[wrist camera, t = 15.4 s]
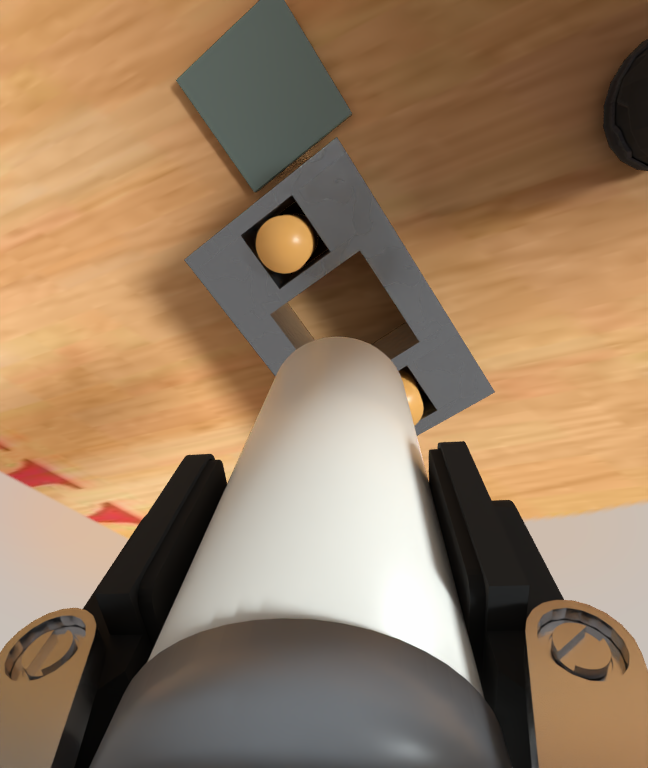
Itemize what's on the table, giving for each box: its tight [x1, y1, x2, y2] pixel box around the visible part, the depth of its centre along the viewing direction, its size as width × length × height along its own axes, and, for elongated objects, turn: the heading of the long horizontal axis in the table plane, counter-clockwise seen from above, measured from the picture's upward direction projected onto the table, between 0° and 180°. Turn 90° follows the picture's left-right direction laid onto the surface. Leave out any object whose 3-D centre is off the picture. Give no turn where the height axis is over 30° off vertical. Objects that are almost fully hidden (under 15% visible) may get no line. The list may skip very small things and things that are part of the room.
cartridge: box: [89, 337, 512, 768], centre depth 10 cm, size 5×5×12 cm
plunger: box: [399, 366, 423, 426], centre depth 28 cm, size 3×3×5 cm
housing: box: [185, 137, 495, 436], centre depth 27 cm, size 16×10×5 cm, turn 35°
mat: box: [176, 0, 352, 192], centre depth 25 cm, size 7×7×1 cm
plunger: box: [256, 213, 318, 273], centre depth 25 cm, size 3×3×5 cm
